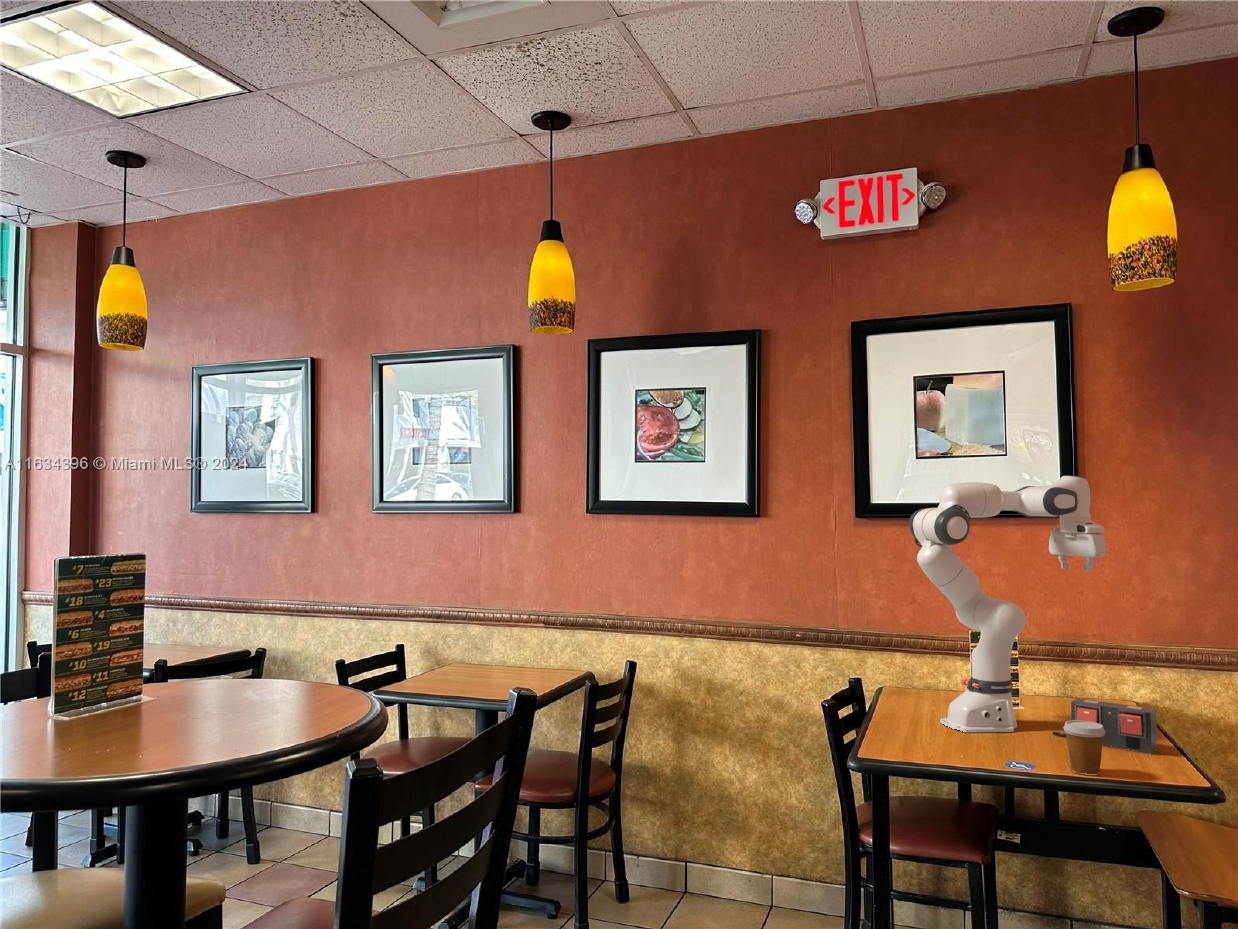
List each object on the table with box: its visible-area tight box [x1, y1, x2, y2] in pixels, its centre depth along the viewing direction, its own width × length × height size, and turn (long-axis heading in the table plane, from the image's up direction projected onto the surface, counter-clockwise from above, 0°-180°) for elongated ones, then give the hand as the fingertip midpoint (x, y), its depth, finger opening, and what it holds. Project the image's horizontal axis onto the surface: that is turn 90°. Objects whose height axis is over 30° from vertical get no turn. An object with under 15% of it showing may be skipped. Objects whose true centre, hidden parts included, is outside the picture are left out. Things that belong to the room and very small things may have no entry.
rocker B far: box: [1119, 714, 1143, 736], centre depth 240 cm, size 5×1×5 cm, turn 47°
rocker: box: [1077, 707, 1098, 723], centre depth 247 cm, size 5×1×5 cm, turn 47°
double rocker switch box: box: [1052, 697, 1158, 754], centre depth 248 cm, size 26×7×11 cm, turn 47°
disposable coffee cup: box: [1062, 719, 1105, 774], centre depth 223 cm, size 10×10×12 cm
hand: (1076, 570), depth 277 cm, fingers open, 8 cm apart
